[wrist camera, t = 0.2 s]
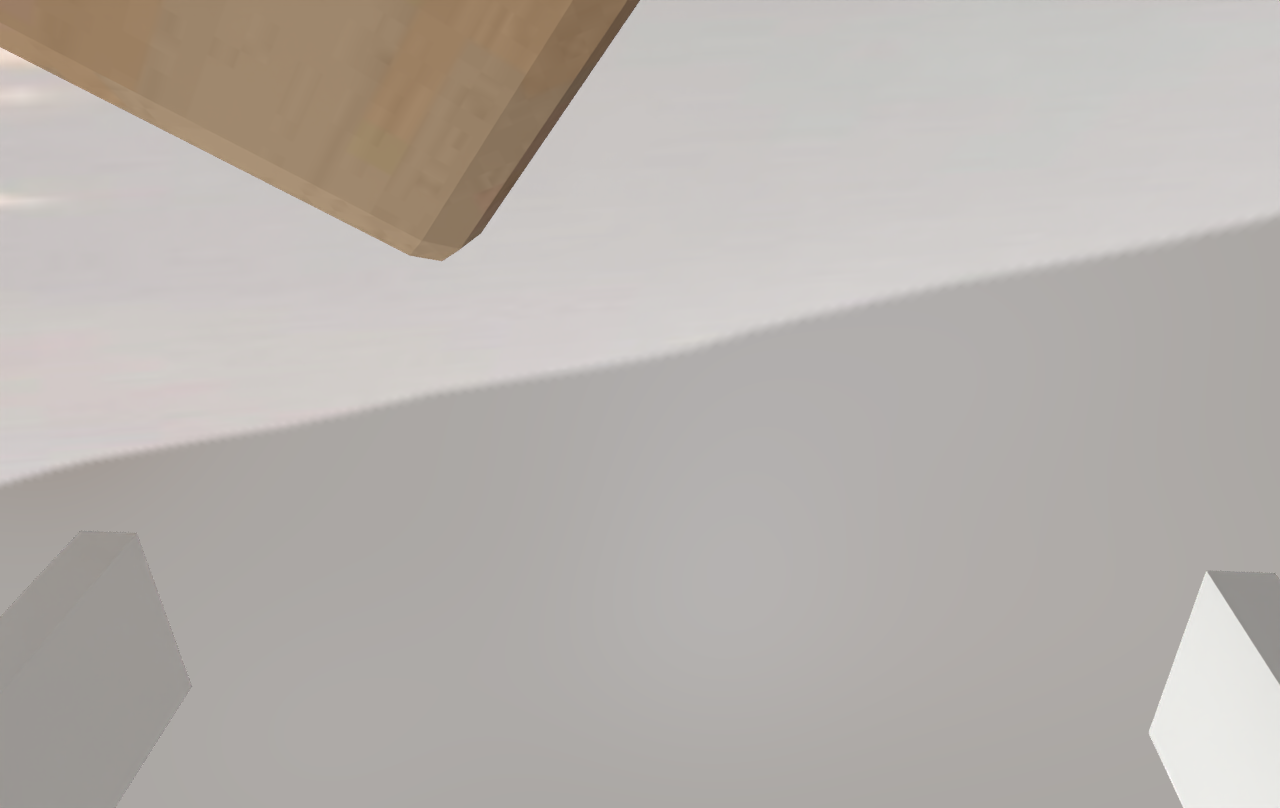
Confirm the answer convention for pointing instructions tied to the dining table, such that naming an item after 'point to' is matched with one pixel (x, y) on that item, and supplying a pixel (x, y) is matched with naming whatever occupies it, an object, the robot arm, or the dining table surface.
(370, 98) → the wooden block
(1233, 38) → the dining table surface
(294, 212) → the dining table surface
